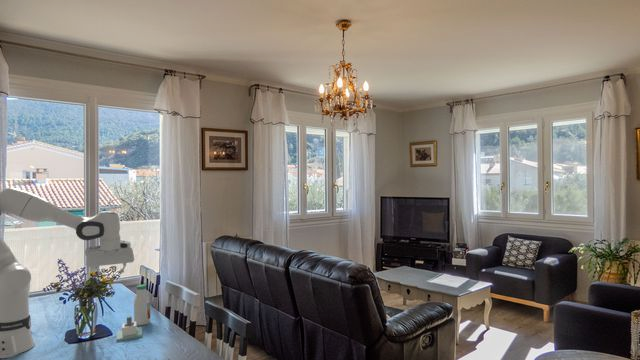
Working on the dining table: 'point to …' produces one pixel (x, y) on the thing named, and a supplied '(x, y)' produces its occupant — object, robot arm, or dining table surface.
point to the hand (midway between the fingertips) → (111, 273)
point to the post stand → (121, 338)
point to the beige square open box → (129, 329)
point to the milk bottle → (141, 306)
